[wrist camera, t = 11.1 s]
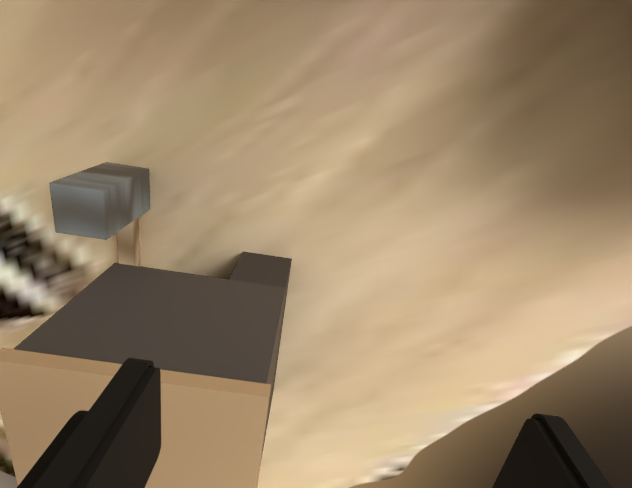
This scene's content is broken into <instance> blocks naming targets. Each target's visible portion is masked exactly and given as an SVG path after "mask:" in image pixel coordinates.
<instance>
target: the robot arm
mask: <svg viewBox="0 0 632 488" xmlns="http://www.w3.org/2000/svg"><path fill="white" fill-rule="evenodd" d="M160 449H161V372H160V368H155V367H154V363H153V361H150V360H143V359H135V358H128V359H126V361H125V362H124V363H123V364H122V366H121V367H120V368H119V370H118V371H117V373H116V374H115V375H114V377H113V378H112V379H111V381H110V382H109V384H108V385H107V386H106V388H105V389H104V390H103V392H102V393H101V395H100V396H99V397H98V399H97V400H96V401H95V403H94V404H93V406H92V407H91V408H90V410H89V411H85V410H80V411H78V412H76V413H75V414H74V415H73V416H72V417H71V418H70V419H69V420H68V422H67V423H66V424H65V425H64V427H63V428H62V429H61V431H60V432H59V433H58V435H57V436H56V437H55V438H54V440H53V441H52V442H51V444H50V445H49V446H48V448H47V449H46V450H45V452H44V453H43V454H42V455H41V457H40V458H39V459H38V461H37V462H36V463H35V465H34V466H33V467H32V468H31V470H30V471H29V472H28V474H27V475H26V476H25V478H24V479H23V480H22V482H21V483H20V484H19V485H18V487H17V488H145V486H146V484H147V481H148V479H149V477H150V475H151V473H152V470H153V468H154V466H155V464H156V462H157V459H158V456H159V453H160ZM493 488H612V487H611V486H610V484H609V483H608V481H607V480H606V478H605V477H604V476H603V474H602V473H601V471H600V470H599V468H598V467H597V466H596V464H595V463H594V461H593V460H592V459H591V457H590V456H589V454H588V453H587V451H586V450H585V448H584V447H583V446H582V444H581V443H580V441H579V440H578V439H577V437H576V436H575V434H574V433H573V431H572V430H571V429H570V427H569V426H568V424H567V423H566V422H565V421H564V420H563V419H562V418H561V417H558V416H551V415H543V414H534V415H533V416H532V417H531V419H527V420H526V421H525V423H524V425H523V427H522V429H521V431H520V433H519V435H518V437H517V439H516V441H515V443H514V445H513V447H512V449H511V451H510V453H509V455H508V457H507V459H506V461H505V463H504V465H503V467H502V470H501V471H500V473H499V475H498V477H497V479H496V482H495V483H494V485H493Z"/></svg>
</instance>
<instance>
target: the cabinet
mask: <svg viewBox="0 0 632 488" xmlns="http://www.w3.org/2000/svg"><path fill="white" fill-rule="evenodd" d="M291 260H292V259H289V258H282V257H275V256H269V255H262V254H255V253H248V252H243V253H242V255H241V257H240V259H239V261H238V263H237V265H236V267H235V269H234V271H233V273H232V275H231V277H230V279H222V278H215V277H208V276H201V275H195V274H188V273H181V272H174V271H167V270H160V269H153V268H146V267H140V266H133V265H126V264H119V263H114V264H113V265H112V266H111V267H110V268H108V269H107V270H106V271H105V272H104V273H103V274H101V275H100V276H99V277H98V278H97V279H95V280H94V281H93V282H92V283H91V284H90V285H88V286H87V287H86V288H85V289H84V290H82V291H81V292H80V293H79V294H78V295H77V296H75V297H74V298H73V299H72V300H71V301H69V302H68V303H67V304H66V305H65V306H64V307H62V308H61V309H60V310H59V311H58V312H56V313H55V314H54V315H53V316H52V317H51V318H49V319H48V320H47V321H46V322H45V323H44V324H42V325H41V326H40V327H39V328H38V329H36V330H35V331H34V332H33V333H32V334H31V335H29V336H28V337H27V338H26V339H25V340H23V341H22V342H21V343H20V344H19V345H18V346H16V347H15V348H14V349H7V348H2V349H1V350H0V410H1V415H2V419H3V423H4V427H5V432H6V436H7V440H8V445H9V449H10V453H11V458H12V462H13V466H14V470H15V475H16V479H17V483H18V485H19V484H20V483H21V482H22V480H23V479H24V478H25V476H26V475H27V474H28V472H29V471H30V470H31V468H32V467H33V466H34V465H35V463H36V462H37V461H38V459H39V458H40V457H41V455H42V454H43V453H44V452H45V450H46V449H47V448H48V446H49V445H50V444H51V442H52V441H53V440H54V438H55V437H56V436H57V435H58V433H59V432H60V431H61V429H62V428H63V427H64V425H65V424H66V423H67V422H68V420H69V419H70V418H71V417H72V416H73V415H74V414H75V413H76V412H78V411H80V410H85V411H89V410H90V408H91V407H92V406H93V404H94V403H95V401H96V400H97V399H98V397H99V396H100V395H101V393H102V392H103V390H104V389H105V388H106V386H107V385H108V384H109V382H110V381H111V379H112V378H113V377H114V375H115V374H116V373H117V371H118V370H119V368H120V367H121V366H122V364H123V363H124V362H125V361H126V359H128V358H135V359H143V360H150V361H153V363H154V367H155V368H160V372H161V449H160V453H159V456H158V459H157V462H156V464H155V466H154V468H153V470H152V473H151V475H150V477H149V479H148V481H147V484H146V486H145V488H257V485H258V478H259V471H260V464H261V458H262V453H263V447H264V441H265V435H266V430H267V424H268V418H269V413H270V407H271V401H272V395H273V389H274V382H275V375H276V368H277V360H278V353H279V346H280V339H281V332H282V324H283V317H284V310H285V303H286V296H287V288H288V281H289V274H290V267H291Z"/></svg>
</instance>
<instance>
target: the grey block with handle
mask: <svg viewBox="0 0 632 488" xmlns="http://www.w3.org/2000/svg"><path fill="white" fill-rule="evenodd" d="M49 184H50V192H51V200H52V208H53V216H54V223H55V231H56V232H57V233H64V234H71V235H78V236H85V237H92V238H99V239H106V240H107V239H108V238H110V237H111V236H113V235H114V234H115V233H117V246H118V262H119V264H126V265H133V266H140V253H139V226H138V217H139V216H141V215H142V214H144V213H145V212H146V211H148V210H149V209H150V186H149V169H147V168H140V167H133V166H127V165H120V164H114V163H107V162H106V163H103V164H101V165H98V166H95V167H92V168H89V169H87V170H84V171H81V172H78V173H76V174H73V175H70V176H67V177H64V178H62V179H59V180H56V181H53V182H50V183H49Z"/></svg>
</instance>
